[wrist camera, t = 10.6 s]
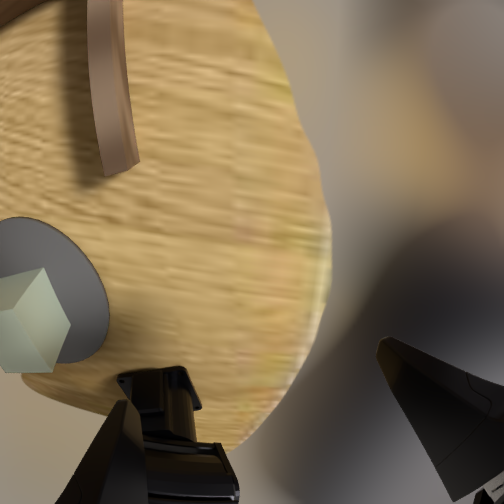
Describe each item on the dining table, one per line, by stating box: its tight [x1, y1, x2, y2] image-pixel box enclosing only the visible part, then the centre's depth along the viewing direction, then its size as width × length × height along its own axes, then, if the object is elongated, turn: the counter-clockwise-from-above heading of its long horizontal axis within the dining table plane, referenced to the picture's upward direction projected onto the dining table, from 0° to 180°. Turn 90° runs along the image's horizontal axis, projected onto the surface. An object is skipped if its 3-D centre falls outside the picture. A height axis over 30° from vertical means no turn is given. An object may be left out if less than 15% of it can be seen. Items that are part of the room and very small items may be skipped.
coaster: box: [0, 217, 110, 363], centre depth 16 cm, size 13×13×1 cm
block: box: [0, 267, 71, 373], centre depth 14 cm, size 5×5×5 cm
